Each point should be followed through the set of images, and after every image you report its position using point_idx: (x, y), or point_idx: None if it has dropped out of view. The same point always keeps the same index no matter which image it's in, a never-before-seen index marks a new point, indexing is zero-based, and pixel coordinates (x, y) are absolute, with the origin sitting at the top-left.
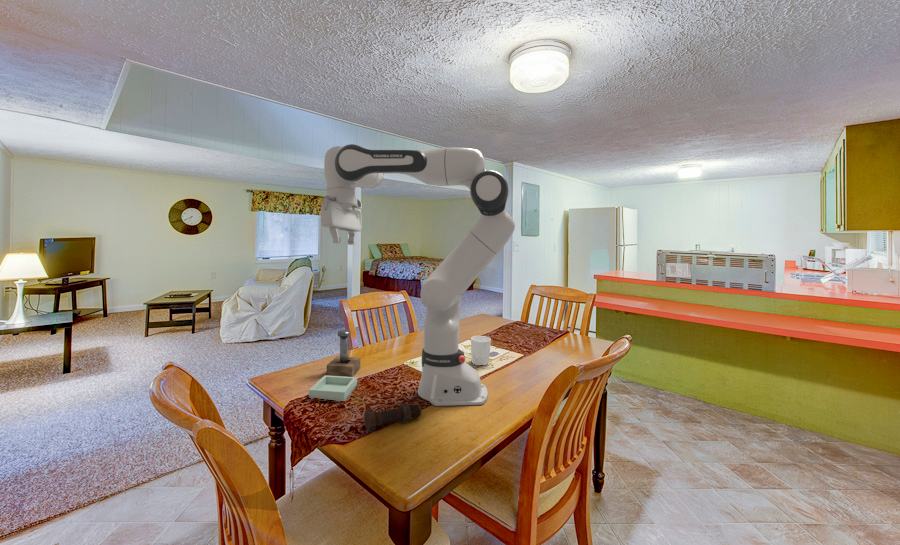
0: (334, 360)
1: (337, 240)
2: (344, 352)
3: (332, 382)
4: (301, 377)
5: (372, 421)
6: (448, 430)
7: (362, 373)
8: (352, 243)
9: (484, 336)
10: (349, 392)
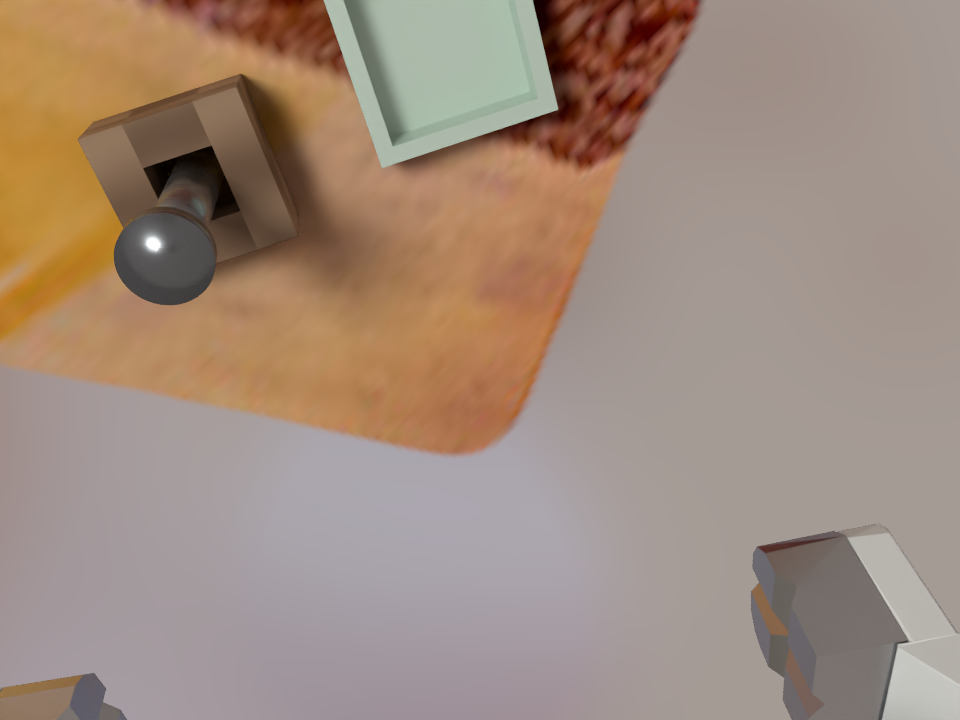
0: None
1: (901, 563)
2: (201, 192)
3: (379, 106)
4: (372, 312)
5: None
6: None
7: (150, 57)
8: (83, 676)
9: None
10: None
